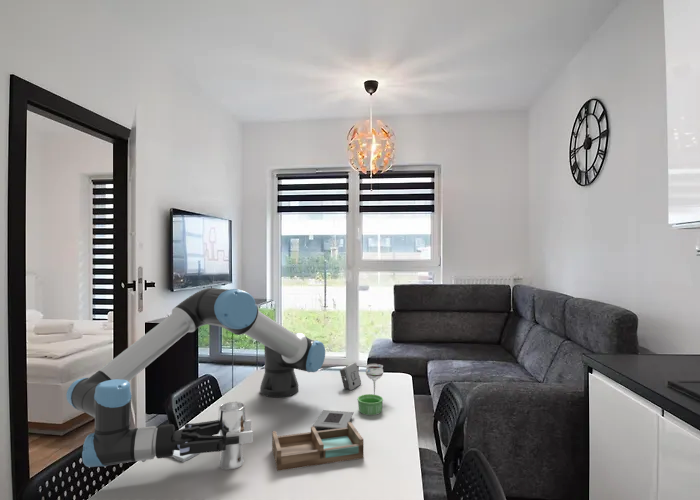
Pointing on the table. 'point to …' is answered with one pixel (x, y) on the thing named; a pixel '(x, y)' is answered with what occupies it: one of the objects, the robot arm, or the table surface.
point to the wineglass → (374, 372)
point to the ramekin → (370, 404)
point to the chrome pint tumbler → (231, 422)
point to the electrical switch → (350, 376)
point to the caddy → (317, 447)
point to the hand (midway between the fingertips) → (251, 430)
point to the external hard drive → (182, 458)
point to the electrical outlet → (333, 419)
